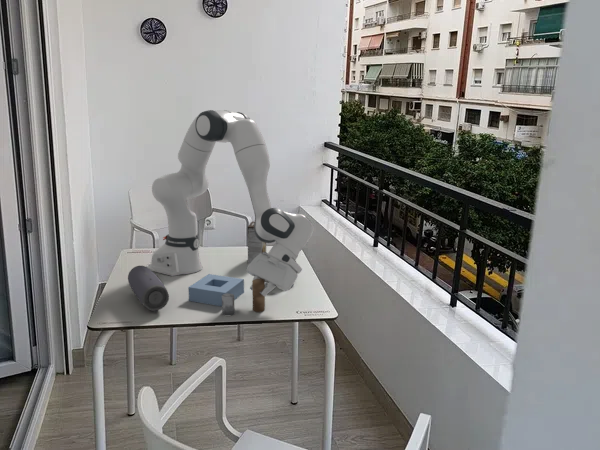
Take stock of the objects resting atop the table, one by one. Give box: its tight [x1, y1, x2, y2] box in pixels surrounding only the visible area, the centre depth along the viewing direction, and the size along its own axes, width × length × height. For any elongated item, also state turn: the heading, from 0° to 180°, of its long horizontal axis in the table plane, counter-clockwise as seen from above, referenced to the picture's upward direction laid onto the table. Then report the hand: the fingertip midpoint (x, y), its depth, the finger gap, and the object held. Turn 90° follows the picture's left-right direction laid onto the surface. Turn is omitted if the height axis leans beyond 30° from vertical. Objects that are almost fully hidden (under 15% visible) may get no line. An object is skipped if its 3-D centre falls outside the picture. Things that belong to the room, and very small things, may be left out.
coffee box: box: [247, 221, 267, 265], centre depth 216 cm, size 9×6×16 cm
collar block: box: [187, 273, 245, 307], centre depth 179 cm, size 14×14×5 cm
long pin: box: [251, 279, 266, 313], centre depth 168 cm, size 4×4×10 cm
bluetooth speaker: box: [127, 265, 170, 311], centre depth 173 cm, size 23×9×10 cm, turn 30°
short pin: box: [221, 293, 236, 316], centre depth 165 cm, size 4×4×6 cm
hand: (257, 292), depth 167 cm, fingers closed on long pin, 4 cm apart
